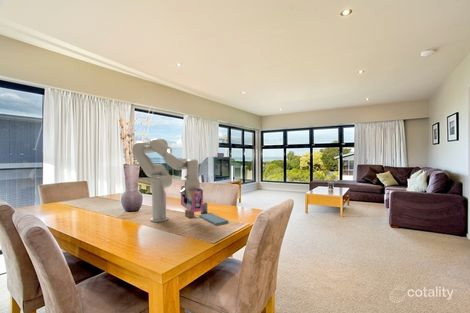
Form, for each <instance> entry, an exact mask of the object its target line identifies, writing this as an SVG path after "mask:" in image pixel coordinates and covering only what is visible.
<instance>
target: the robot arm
mask: <svg viewBox="0 0 470 313" xmlns="http://www.w3.org/2000/svg"><path fill="white" fill-rule="evenodd" d="M131 149H132V151H131V152H132V155H133V157H134V160H136V161H137V163H138V165H139V166H140V167H141V170H143V173H144V174H145V175H146V176H147V177H149V178H152V179H151V180H150V189H151V204H152V208H151V210H152V213H151V214H152V217H150V222H153V223H160V222H161V223H162V222H165V221H167V220H169V216H168V215H167V194H166V190H165V189H167V188H169V187H171V186H172V184H173V178H172V177H171V175H170V174H169V172H168V171H167V169H166V167H165V166H164V165H163V164H161V163H154V161H152V159H151V158H150V157H149V156H148V155H147V154H150V153H157V154H158V155H160V156H161V157H162V158H163V160H164V162H165V163H166V165H168V166H169V167H170V168H172V169H173V170H175V171H183V170H186V175H184V179H185V180H184V185H183V186H184V189H183V190H182V191H181V190H180V191H179V193H180V196H181V195H182V196H183V197H184V203H185V204H187V198H186V197H187V195H188V190H190V191H193V190H198V189H200V190H202V191H203V192H204V189H203V188H201V187H200V180H199V178H198V172H199V169H198V168H199V167H198V166H199V161H198V160H197V159H192V158H190V159H188V158H177V157H176V156H175V155H173V154H172V153H173V149H172V147H170V146H169V144H168V142H167V140H166V139H164V138H152V139H150V141H137V142H135V143H134V144H133V146H132V148H131ZM183 192H184V193H185V194H183Z"/></svg>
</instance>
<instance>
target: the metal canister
mask: <svg viewBox="0 0 470 313" xmlns="http://www.w3.org/2000/svg"><path fill="white" fill-rule="evenodd" d="M207 213H208V202H203V211H200V215H202V214H207Z"/></svg>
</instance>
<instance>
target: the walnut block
mask: <svg viewBox="0 0 470 313" xmlns="http://www.w3.org/2000/svg"><path fill="white" fill-rule="evenodd" d="M184 212H185V214H184V216H185V217H186V218H188V219H189V218H190V219H191V218H194V217H195V212H191V211H189V210H188V209H187V208H186V209H185V210H184Z"/></svg>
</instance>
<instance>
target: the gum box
mask: <svg viewBox="0 0 470 313" xmlns="http://www.w3.org/2000/svg"><path fill="white" fill-rule="evenodd" d="M183 189H184V185H181V186H180V191H182V190H183ZM202 190H203V189H202ZM202 190H200V189H198V190H193V191H190V190H188V195H187V197H186V198H187V204H185V203H184V197H183V196H182V195H181V194H180V205H181V206H182V207H184V208H185V209H186V210H187V209H188V210H189V211H191V212H194V213H198V212H201V211H203V203H204V190H203V191H202ZM183 194H185V193H184V192H183Z"/></svg>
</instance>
